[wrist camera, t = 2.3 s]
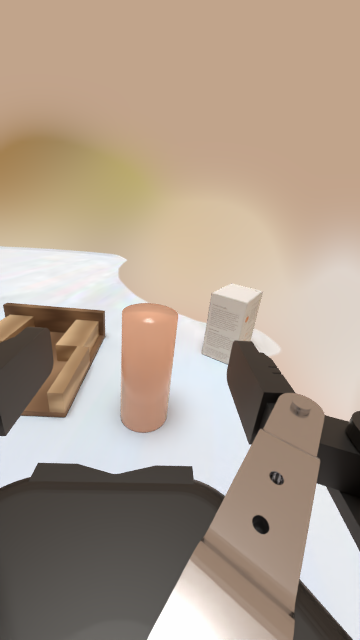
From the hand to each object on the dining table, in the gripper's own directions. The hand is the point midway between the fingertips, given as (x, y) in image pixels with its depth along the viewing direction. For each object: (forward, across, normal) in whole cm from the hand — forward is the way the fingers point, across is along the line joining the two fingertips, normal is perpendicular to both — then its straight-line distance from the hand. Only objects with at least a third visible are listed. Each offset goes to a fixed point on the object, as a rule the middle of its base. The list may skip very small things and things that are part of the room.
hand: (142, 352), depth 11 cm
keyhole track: (+20, +16, +14) cm, 29 cm away
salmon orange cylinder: (+12, 0, +15) cm, 19 cm away
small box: (+26, -12, +15) cm, 33 cm away
